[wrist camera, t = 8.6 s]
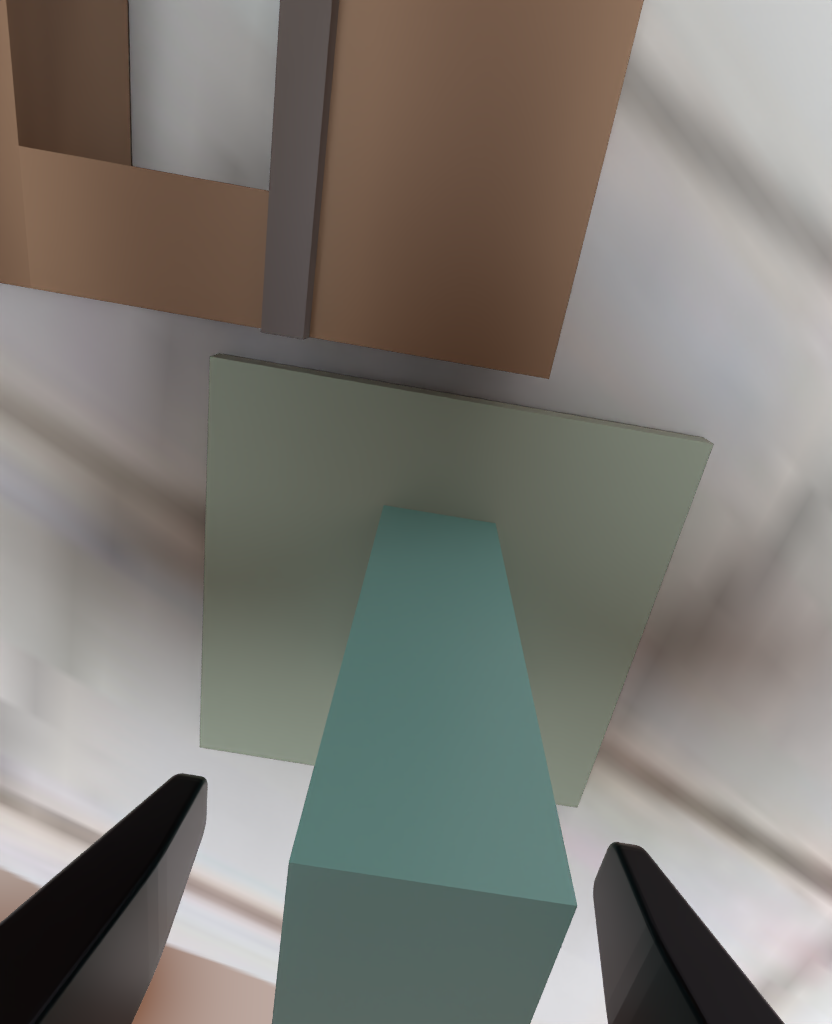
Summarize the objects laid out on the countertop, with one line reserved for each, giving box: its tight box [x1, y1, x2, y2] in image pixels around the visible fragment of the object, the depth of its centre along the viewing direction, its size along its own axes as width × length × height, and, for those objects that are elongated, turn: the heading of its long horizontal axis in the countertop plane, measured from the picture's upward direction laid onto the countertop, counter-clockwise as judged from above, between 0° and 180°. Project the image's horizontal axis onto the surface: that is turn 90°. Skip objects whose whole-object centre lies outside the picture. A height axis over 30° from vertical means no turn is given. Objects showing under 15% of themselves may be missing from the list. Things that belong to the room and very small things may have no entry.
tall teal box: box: [272, 505, 577, 1024], centre depth 9 cm, size 2×5×8 cm, turn 171°
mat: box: [200, 353, 714, 807], centre depth 13 cm, size 10×10×1 cm
